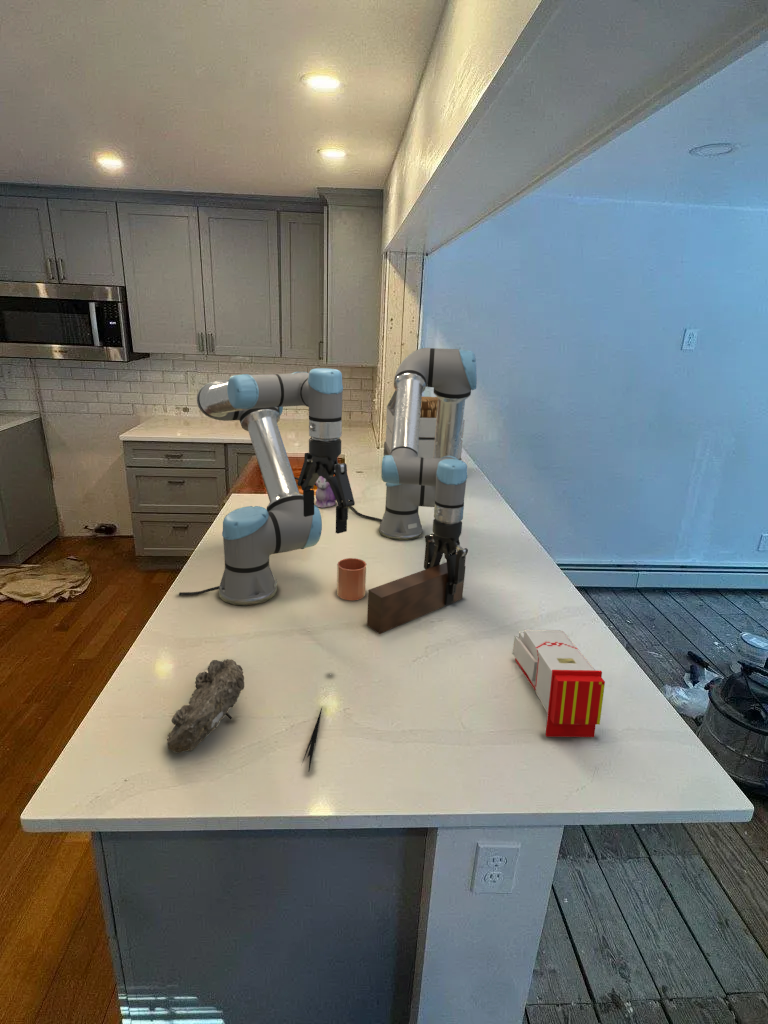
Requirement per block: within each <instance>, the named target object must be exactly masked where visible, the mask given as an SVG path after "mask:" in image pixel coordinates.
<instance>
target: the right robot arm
mask: <svg viewBox="0 0 768 1024" xmlns="http://www.w3.org/2000/svg"><path fill="white" fill-rule="evenodd" d="M476 360H477V359H476V353H474V351H473V350H468V349H461V348H437V347H435V348H434V347H421V348H419V349H416V350H414V351H412V352H411V353H409V354H408V355H407V356H405V358H404V359H403V360H402V361H401V363H400V364H399V366H398V367H397V369H396V371H395V373H394V378H393V379H394V380H393V388H394V391H395V390H396V391H397V393H396V403H395V414H394V424H393V434H392V444H391V454H390V455H385V456H384V455H383V456H382V460H381V473H380V474H381V475H380V477H381V480H382V481H383V482H384V483H385V487H386V488H385V489H386V490H385V504H384V505H385V507H384V508H385V509H384V513H383V515H382V518H378V517H375V516H370V515H366V514H363V513H361V512H359V511H358V510H356V508H355V507H354V506H349V507H348V508H350V509H351V510H352V511H353V512H354V513H355V514H356V515H358V516H360V517H362V518H365V519H369V520H374V521H378V522H379V526H378V533H379V534H380V535H381V536H382V537H385V538H387V539H389V540H395V541H410V540H415V539H418V538H420V537H421V536H422V535H423V525H422V524H421V518H420V515H419V507H425V508H433V520H432V533H429V534H426V535H424V541H425V549H424V560H423V570H425V569H428V568H431V567H434V566H437V565H439V564H441V561H442V559H443V556H444V559H445V562H447V571H448V580H449V582H447V583H446V590H445V601H444V605H447V606H449V605H451V604H454V603H453V599H454V594H455V593H456V586H457V584H459V583H462V582H463V581H464V582H465V577H464V570H465V571H466V567H465V566H466V559H467V555H468V552H469V549H468V547H465V548H464V547H463V546H462V545H461V542H460V537H461V535H462V530H463V519H464V509H465V498H466V497H465V496H466V488H467V487H466V486H467V479H468V465H467V463H466V462H465V461H463V460H462V461H461V460H459V453H460V444H461V440H462V438H461V434H462V425H463V419H464V417H465V416H464V414H465V406H466V400H467V399H468V398H470V397H471V396H472V395H471V394H472V391H474V390H476V389H477V384H478V383H477V381H478V380H477V378H478V377H477V362H476ZM426 388H433V394H434V395H435V397H437V398H438V403H437V416H436V428H435V441H434V453H433V458H423V457H418V443H419V428H420V414H421V399H422V397H423V393H424V392H425V391H426ZM294 478H295V481H296V480H297V481H298V479H299V477H296V476H294ZM314 487H317V486H316V483H315V484H314Z"/></svg>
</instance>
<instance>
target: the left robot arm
mask: <svg viewBox="0 0 768 1024" xmlns="http://www.w3.org/2000/svg"><path fill="white" fill-rule="evenodd" d="M343 390H344V385H343V374H342V371H341V370H339V369H336V368H326V367H322V368H321V367H318V368H311V369H309V372H307V371H294V372H292V373H270V374H269V373H268V374H265V373H264V374H258V373H257V374H248V373H243V374H234V375H231V376H230V377H229V378H228V379H220V380H215V381H211V382H208V383H205V384H203V386H201V387H200V389H199V390H198V392H197V394H196V404H197V408H198V409H199V410H200V412H201V413H202V414H203V415H205V416H206V417H208V418H210V419H213V420H216V421H223V422H227V421H228V422H229V421H230V422H231V421H239V423H240V426H241V428H242V429H243V430H244V431H246V432H248V435H249V438H250V441H251V444H252V445H251V446H252V447H253V451H254V454H255V458H256V460H257V465H258V467H259V471H260V474H261V477H262V480H263V485H264V487H265V491H266V494H267V497H268V500H269V503H268V504H267V506H266V507H263V506H260V505H255V506H252V505H247V506H242V507H239V508H236V509H234V510H231V511H230V512H228V513H227V514H226V515H225V516H224V518H223V520H222V532H221V536H222V541H223V542H222V543H223V557H224V558H223V559H224V570H223V573H222V577H221V579H220V584H219V585H217V586H214V587H209V588H206V589H203V590H199V591H188V592H187V591H183V592H181V591H180V592H178V595H179V596H197V595H201V594H202V595H203V594H206V593H209V592H213V591H217V590H218V594H219V595H218V596H219V598H220V599H221V600H222V601H223V602H225V603H227V604H230V605H234V606H255V605H259V604H263V603H265V602H268V601H270V600H271V599H273V598H274V597H275V596H276V595H277V591H278V588H277V587H278V586H277V585H278V579H276V578H275V576H274V573H273V571H272V568H271V566H270V556H271V555H275V554H281V553H286V552H293V551H296V550H304V549H307V548H310V547H313V546H316V545H317V544H318V543H319V541H320V540H321V536H322V531H323V520H322V515H321V511H320V509H319V507H317V506H316V504H315V490H314V488H315V485H314V484H315V483H316V481H317V480H318V478H319V477H320V476H322V477H323V478H325V479H326V481H327V482H329V484H330V486H331V489H332V491H333V494H334V496H335V499H336V504H337V505H336V506H335V534H343V533H345V532H347V531H348V520H349V519H348V518H349V508H350V507H349V506H352V507H354V506H355V505H356V504H355V498H354V494H353V491H352V487H351V483H350V479H349V475H348V468H347V467H348V465H347V463H345V462H343V463H339V461H338V457H339V456H340V455H341V454H342V439H341V438H342V435H343V419H342V415H343ZM300 406H301V407H308V436H309V437H310V438H309V439H308V452H305V453H304V457H303V459H304V460H303V464H302V466H301V470H300V473H299V477H298V478H299V479H298V480H297V481H296V479H295V478H294V477H295V475H294V472H293V469H292V466H291V463H290V460H289V456H288V453H287V450H286V447H285V444H284V441H283V438H282V435H281V432H280V429H279V426H278V425H279V424H278V423H279V422H280V419H281V416H282V414H283V410H284V408H285V407H300ZM299 487H300V488H301V490H302V493H300V491H299Z"/></svg>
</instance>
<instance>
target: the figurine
mask: <svg viewBox="0 0 768 1024" xmlns="http://www.w3.org/2000/svg"><path fill="white" fill-rule="evenodd" d="M315 487H316V488H317V489H316V490H315V499H316V501H315V505H316V506H317V507H318V508H322V509H324V508H330V507H333V506H335V505H336V504H337V501H336V499H335V496H334V494H333V491H332V489H331V486H330V484H329V482H327V481H326V479H325V478H323V477H322V476H320V477H319V478H318V480H317V481H316V486H315Z"/></svg>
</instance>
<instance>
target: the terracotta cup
mask: <svg viewBox="0 0 768 1024" xmlns="http://www.w3.org/2000/svg"><path fill="white" fill-rule="evenodd" d="M367 566H368V565H367V563H366V561H364V560H363V559H360V558H356V557H355V558H354V557H349V558H344V559H343V558H342V559H340V560H339V561H338V562H337V564H336V567H337V568H336V595H337V597H338V598H340V599H342V600H345V601H358V600H362V599H363V598H365V596H366V592H367V591H366V589H367V588H366V587H367Z"/></svg>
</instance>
